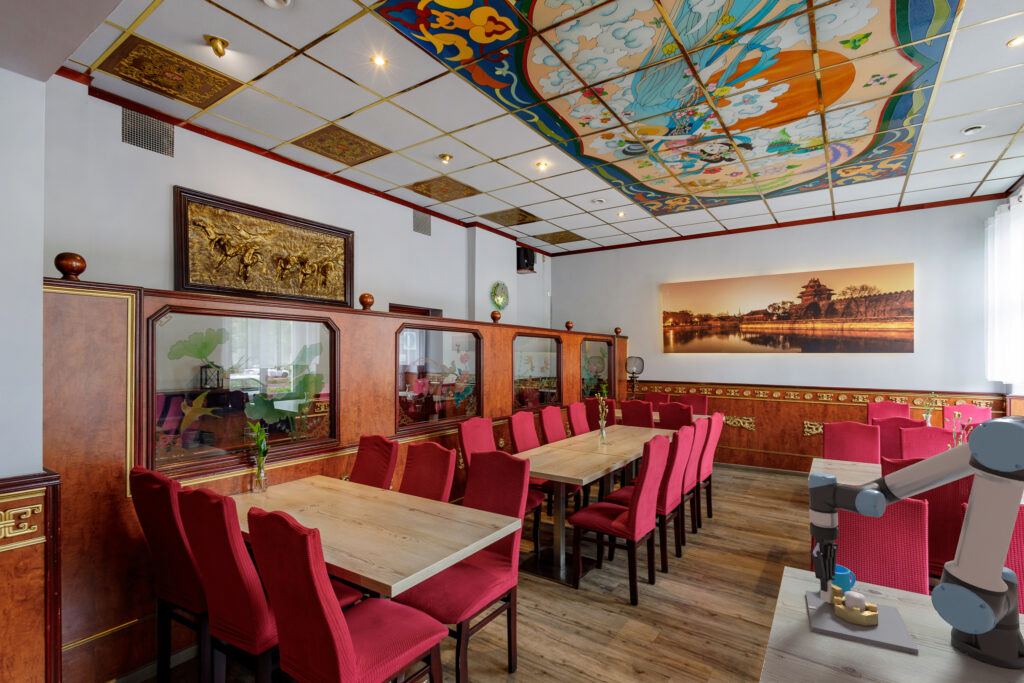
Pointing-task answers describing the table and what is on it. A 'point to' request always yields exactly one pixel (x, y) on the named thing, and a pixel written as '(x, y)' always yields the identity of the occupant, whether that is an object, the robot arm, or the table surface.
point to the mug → (843, 578)
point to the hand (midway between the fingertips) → (826, 600)
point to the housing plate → (882, 634)
